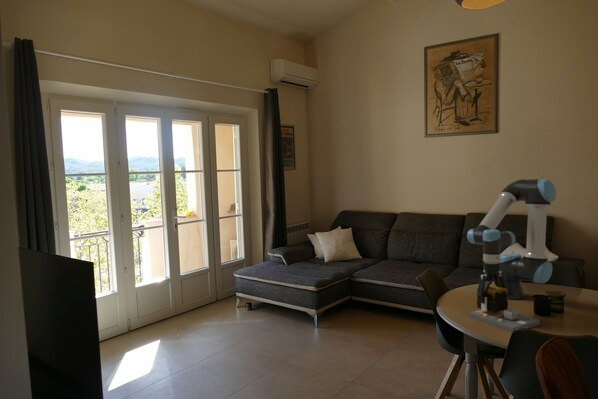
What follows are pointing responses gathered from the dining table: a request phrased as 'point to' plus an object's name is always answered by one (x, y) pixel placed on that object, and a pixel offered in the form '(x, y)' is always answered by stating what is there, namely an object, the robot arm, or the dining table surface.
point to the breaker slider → (510, 314)
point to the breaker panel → (504, 320)
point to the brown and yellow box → (495, 299)
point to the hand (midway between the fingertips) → (492, 307)
